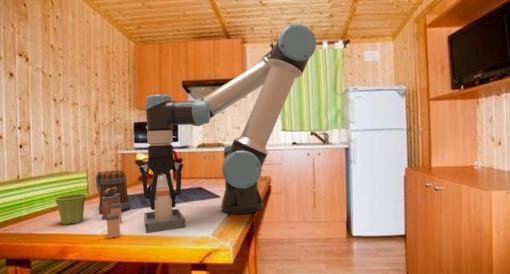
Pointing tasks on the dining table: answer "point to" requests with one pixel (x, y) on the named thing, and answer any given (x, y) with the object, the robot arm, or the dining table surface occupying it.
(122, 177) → the mug
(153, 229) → the tray
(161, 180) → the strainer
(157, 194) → the block
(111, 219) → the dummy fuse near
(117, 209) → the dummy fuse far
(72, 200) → the plant pot
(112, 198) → the lighter
